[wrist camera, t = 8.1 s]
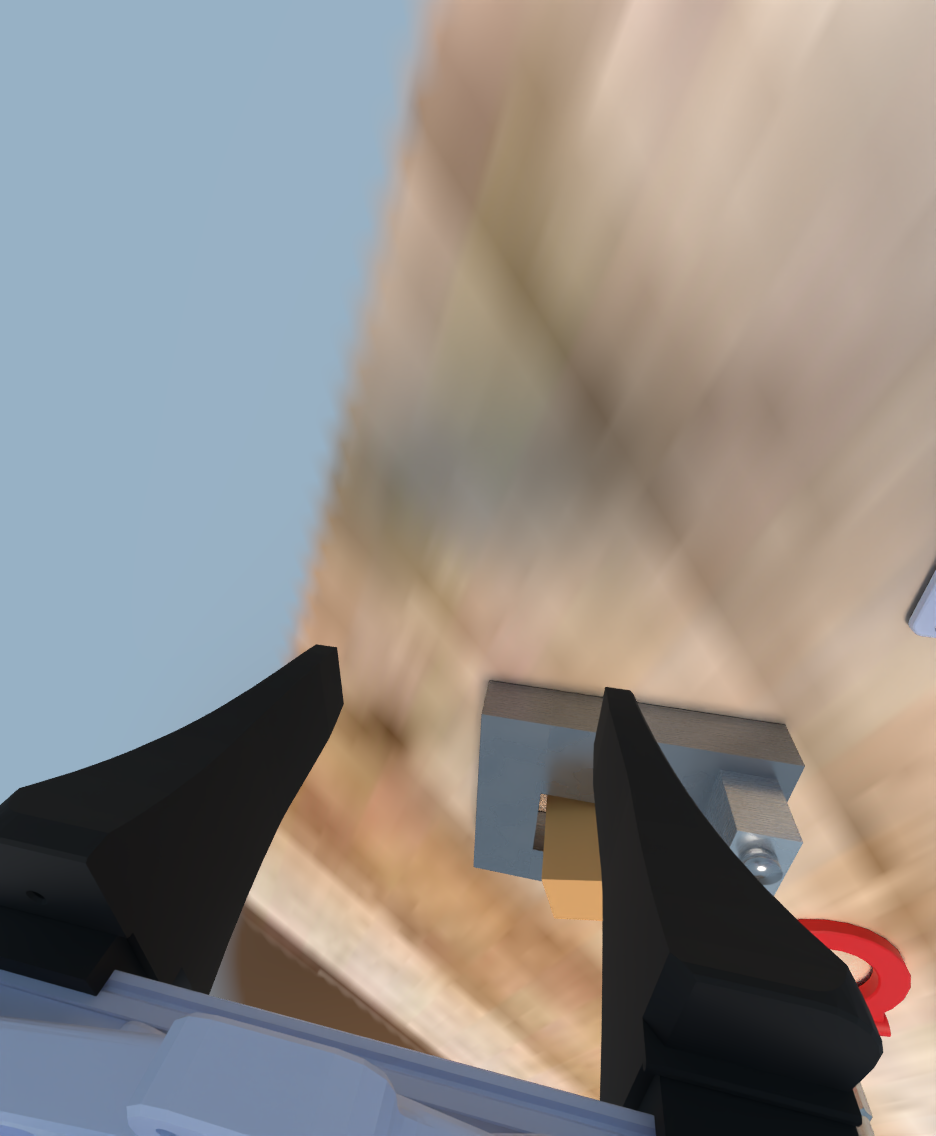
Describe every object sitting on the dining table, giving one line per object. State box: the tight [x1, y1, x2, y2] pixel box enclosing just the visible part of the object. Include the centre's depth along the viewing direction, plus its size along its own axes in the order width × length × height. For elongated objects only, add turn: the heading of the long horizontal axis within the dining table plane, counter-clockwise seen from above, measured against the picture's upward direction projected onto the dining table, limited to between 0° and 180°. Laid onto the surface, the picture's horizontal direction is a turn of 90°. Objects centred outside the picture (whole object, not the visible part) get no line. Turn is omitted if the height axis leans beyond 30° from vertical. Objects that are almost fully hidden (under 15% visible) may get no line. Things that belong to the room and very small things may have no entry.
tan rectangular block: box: [542, 795, 603, 921], centre depth 26 cm, size 3×3×6 cm
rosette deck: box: [474, 681, 805, 896], centre depth 25 cm, size 14×12×6 cm
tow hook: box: [798, 919, 911, 1136], centre depth 26 cm, size 9×14×10 cm
